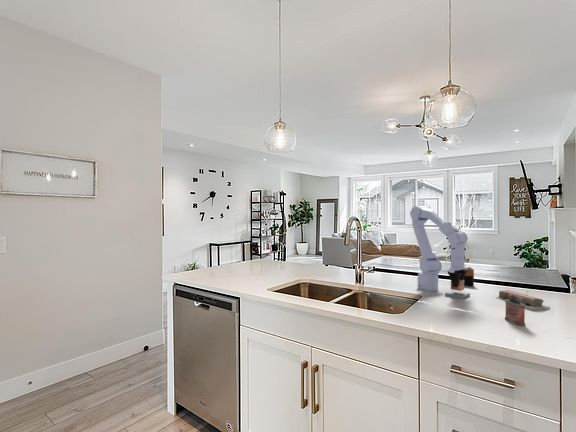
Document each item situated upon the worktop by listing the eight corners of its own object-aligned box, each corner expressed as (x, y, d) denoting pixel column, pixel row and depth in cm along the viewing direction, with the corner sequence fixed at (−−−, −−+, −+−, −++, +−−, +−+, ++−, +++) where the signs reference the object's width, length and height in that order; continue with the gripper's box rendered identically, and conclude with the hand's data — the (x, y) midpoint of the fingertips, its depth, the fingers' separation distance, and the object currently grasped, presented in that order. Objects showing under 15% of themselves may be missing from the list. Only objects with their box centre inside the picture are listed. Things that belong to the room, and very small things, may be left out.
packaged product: (494, 290, 154) (512, 288, 156) (494, 300, 154) (512, 299, 156) (532, 300, 136) (550, 298, 139) (531, 311, 136) (550, 310, 139)
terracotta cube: (450, 289, 157) (450, 279, 157) (454, 287, 160) (454, 278, 160) (460, 290, 154) (460, 281, 154) (464, 289, 157) (464, 280, 157)
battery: (472, 286, 179) (472, 268, 179) (458, 285, 184) (458, 267, 183) (473, 285, 183) (474, 267, 182) (460, 283, 187) (460, 266, 187)
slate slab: (445, 295, 157) (445, 292, 157) (452, 293, 162) (452, 290, 162) (462, 299, 151) (463, 296, 151) (469, 296, 156) (469, 293, 156)
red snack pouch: (502, 318, 126) (502, 292, 126) (510, 318, 126) (511, 292, 126) (518, 326, 118) (519, 298, 118) (527, 326, 118) (528, 298, 118)
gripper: (460, 259, 149) (460, 290, 149) (472, 256, 159) (472, 285, 159) (444, 258, 154) (444, 287, 154) (456, 255, 164) (456, 282, 164)
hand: (457, 286), depth 157 cm, fingers closed on terracotta cube, 4 cm apart
